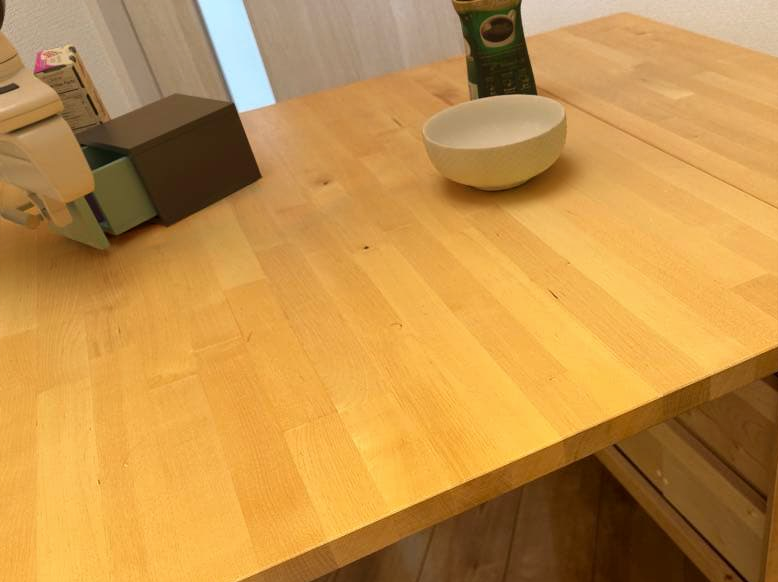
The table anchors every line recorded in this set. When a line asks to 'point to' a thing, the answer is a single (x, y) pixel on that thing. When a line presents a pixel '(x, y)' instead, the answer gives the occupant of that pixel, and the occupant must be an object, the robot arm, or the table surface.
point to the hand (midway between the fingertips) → (60, 222)
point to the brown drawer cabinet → (181, 152)
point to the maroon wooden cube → (94, 208)
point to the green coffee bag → (495, 48)
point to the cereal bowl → (496, 140)
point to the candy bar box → (71, 87)
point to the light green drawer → (98, 202)
